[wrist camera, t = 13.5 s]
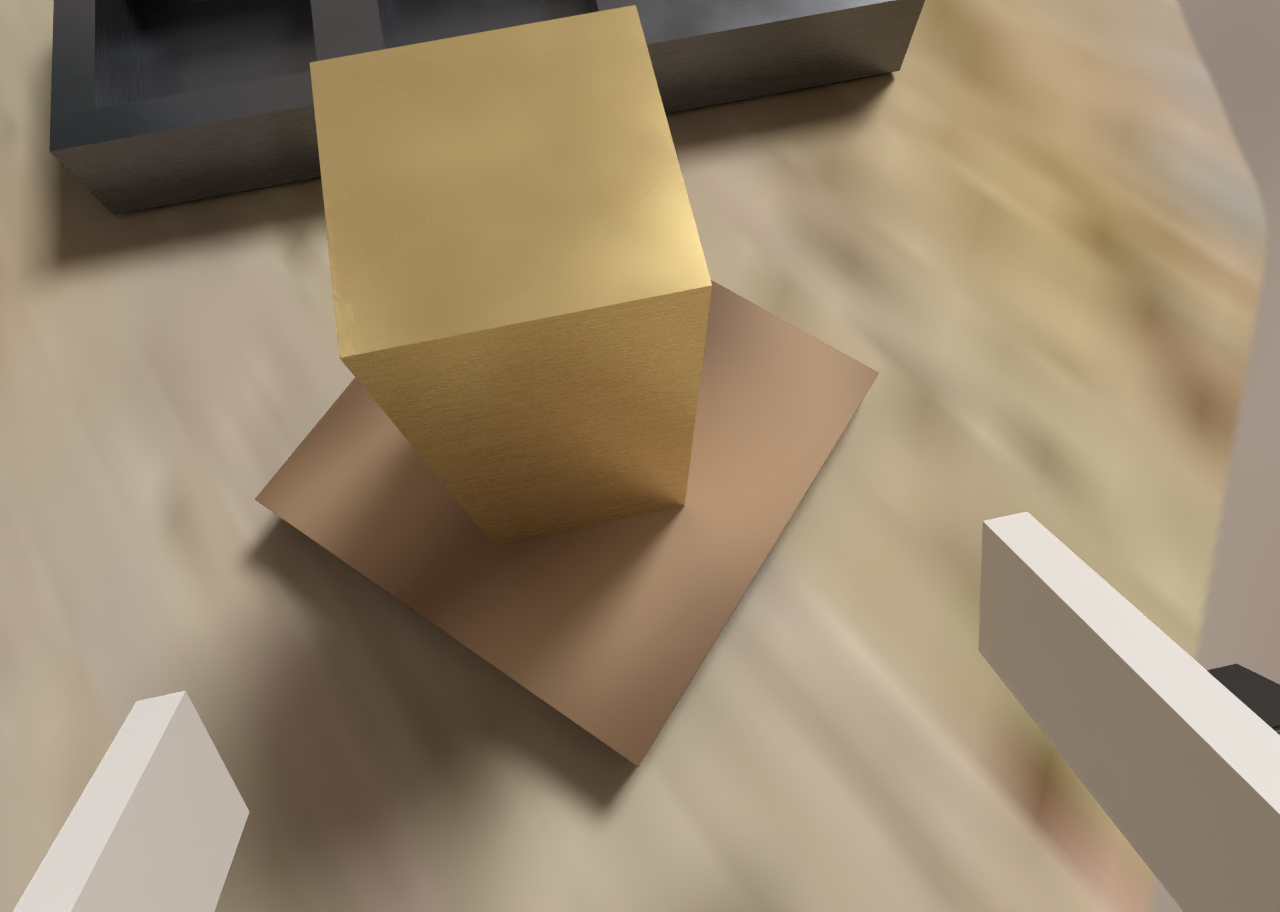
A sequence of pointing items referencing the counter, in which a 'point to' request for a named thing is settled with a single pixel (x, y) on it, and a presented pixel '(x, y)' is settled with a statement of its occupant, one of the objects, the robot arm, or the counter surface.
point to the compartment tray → (370, 21)
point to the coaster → (592, 531)
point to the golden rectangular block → (519, 266)
